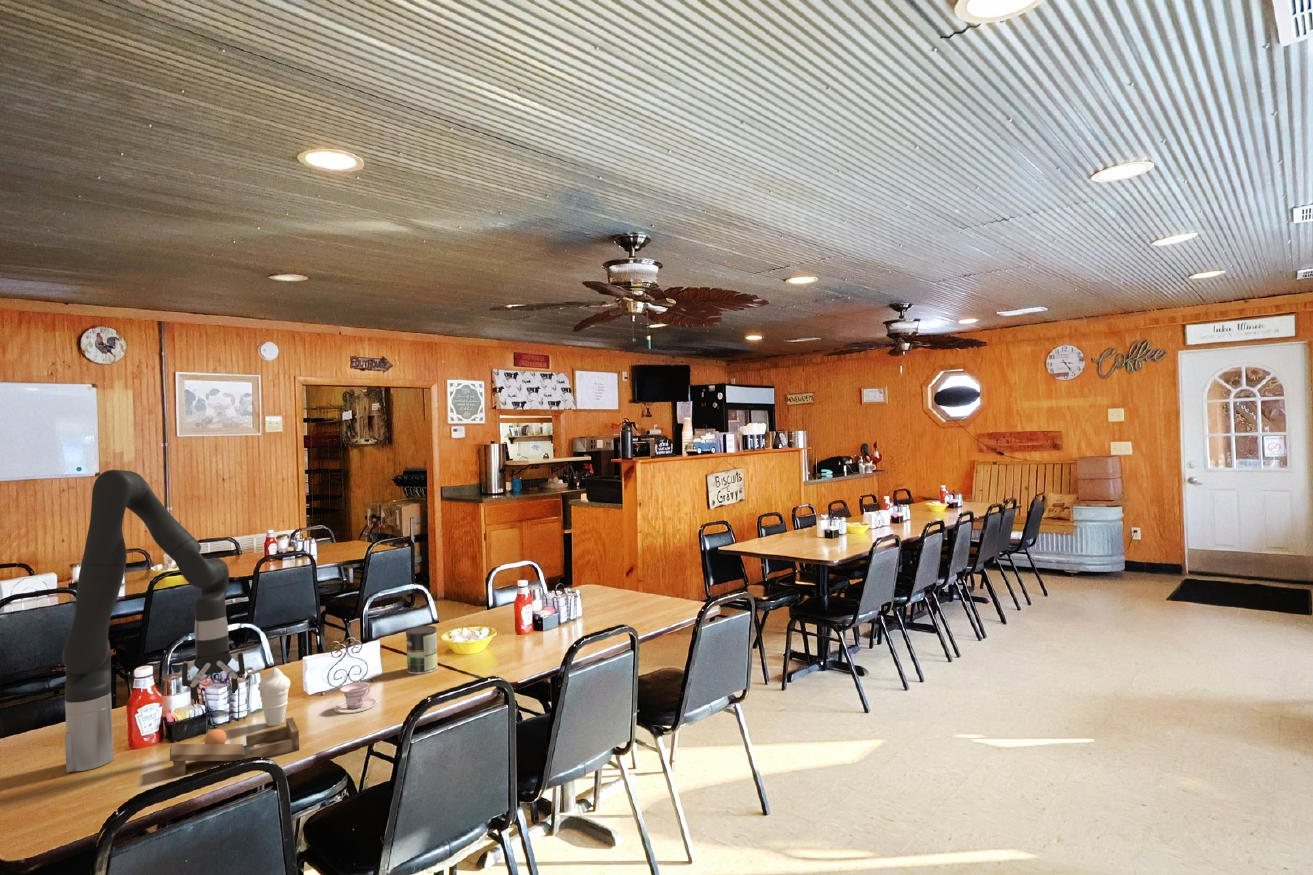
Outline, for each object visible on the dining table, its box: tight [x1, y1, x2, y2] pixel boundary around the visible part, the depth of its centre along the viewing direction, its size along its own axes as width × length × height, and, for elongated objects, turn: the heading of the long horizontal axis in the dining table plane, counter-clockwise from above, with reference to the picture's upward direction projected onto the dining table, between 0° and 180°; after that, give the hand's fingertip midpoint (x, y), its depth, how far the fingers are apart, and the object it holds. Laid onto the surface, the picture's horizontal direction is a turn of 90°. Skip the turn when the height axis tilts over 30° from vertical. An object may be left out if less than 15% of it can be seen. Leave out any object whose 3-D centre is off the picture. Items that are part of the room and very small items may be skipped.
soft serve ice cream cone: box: [258, 667, 291, 727], centre depth 208 cm, size 8×8×16 cm
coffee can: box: [405, 625, 439, 675], centre depth 254 cm, size 10×10×14 cm
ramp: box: [169, 743, 246, 778], centre depth 183 cm, size 16×8×6 cm, turn 123°
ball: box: [204, 728, 228, 744], centre depth 192 cm, size 5×5×5 cm
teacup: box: [333, 681, 378, 715], centre depth 219 cm, size 12×12×6 cm
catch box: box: [243, 716, 300, 759], centre depth 190 cm, size 12×12×5 cm
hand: (214, 696), depth 192 cm, fingers open, 8 cm apart
